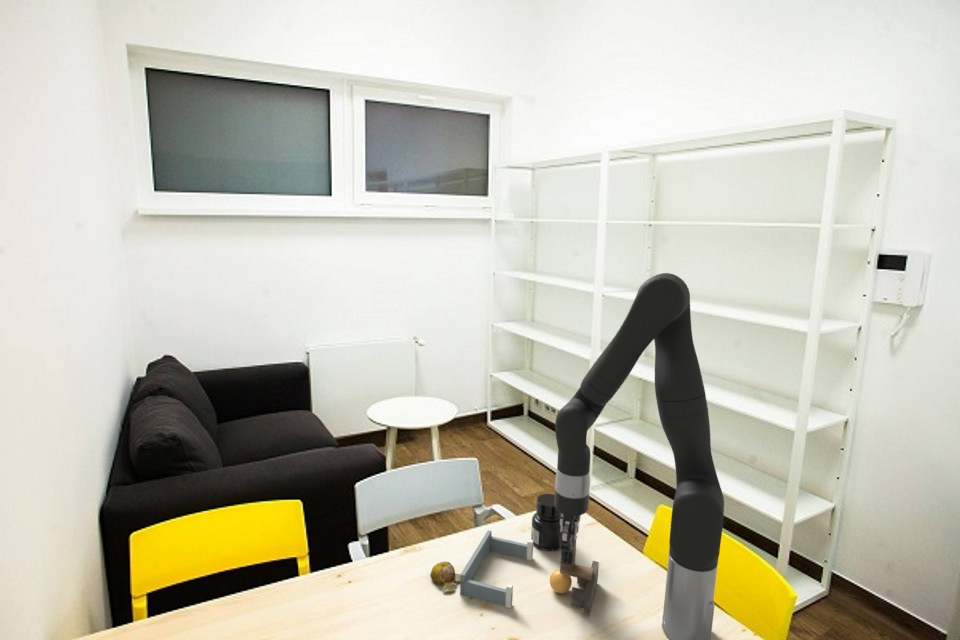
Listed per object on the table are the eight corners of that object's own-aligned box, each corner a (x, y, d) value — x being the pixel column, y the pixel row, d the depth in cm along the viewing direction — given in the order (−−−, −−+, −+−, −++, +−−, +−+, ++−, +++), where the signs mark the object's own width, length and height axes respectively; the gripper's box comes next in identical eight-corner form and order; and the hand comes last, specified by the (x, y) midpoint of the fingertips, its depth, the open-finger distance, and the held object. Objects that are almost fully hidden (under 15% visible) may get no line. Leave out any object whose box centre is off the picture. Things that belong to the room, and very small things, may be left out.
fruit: (451, 597, 122) (451, 583, 121) (422, 583, 126) (422, 569, 126) (471, 578, 129) (471, 564, 128) (443, 565, 133) (443, 552, 133)
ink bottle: (535, 528, 150) (537, 488, 147) (567, 535, 147) (570, 494, 145) (527, 548, 141) (528, 505, 138) (560, 555, 138) (563, 512, 136)
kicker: (597, 581, 128) (601, 526, 125) (589, 615, 117) (593, 555, 114) (565, 573, 130) (568, 519, 128) (554, 606, 119) (557, 547, 116)
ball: (572, 586, 126) (574, 567, 125) (568, 600, 122) (570, 580, 121) (551, 581, 128) (552, 562, 127) (546, 595, 123) (548, 575, 122)
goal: (532, 558, 137) (533, 540, 136) (510, 608, 119) (511, 587, 118) (487, 547, 141) (488, 529, 140) (459, 594, 123) (460, 574, 122)
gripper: (584, 507, 112) (579, 581, 115) (593, 477, 125) (589, 545, 128) (548, 500, 114) (544, 573, 117) (561, 471, 127) (558, 538, 130)
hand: (568, 558), depth 123 cm, fingers closed on kicker, 3 cm apart
